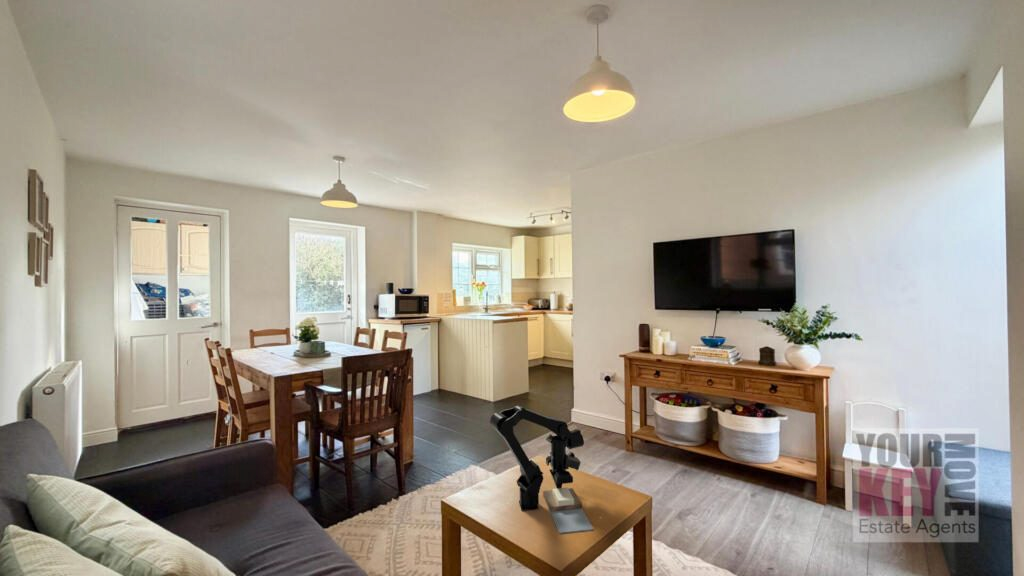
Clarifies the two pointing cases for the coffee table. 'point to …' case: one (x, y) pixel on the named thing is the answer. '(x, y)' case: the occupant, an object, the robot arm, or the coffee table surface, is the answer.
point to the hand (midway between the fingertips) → (559, 490)
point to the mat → (571, 521)
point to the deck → (554, 506)
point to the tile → (563, 496)
